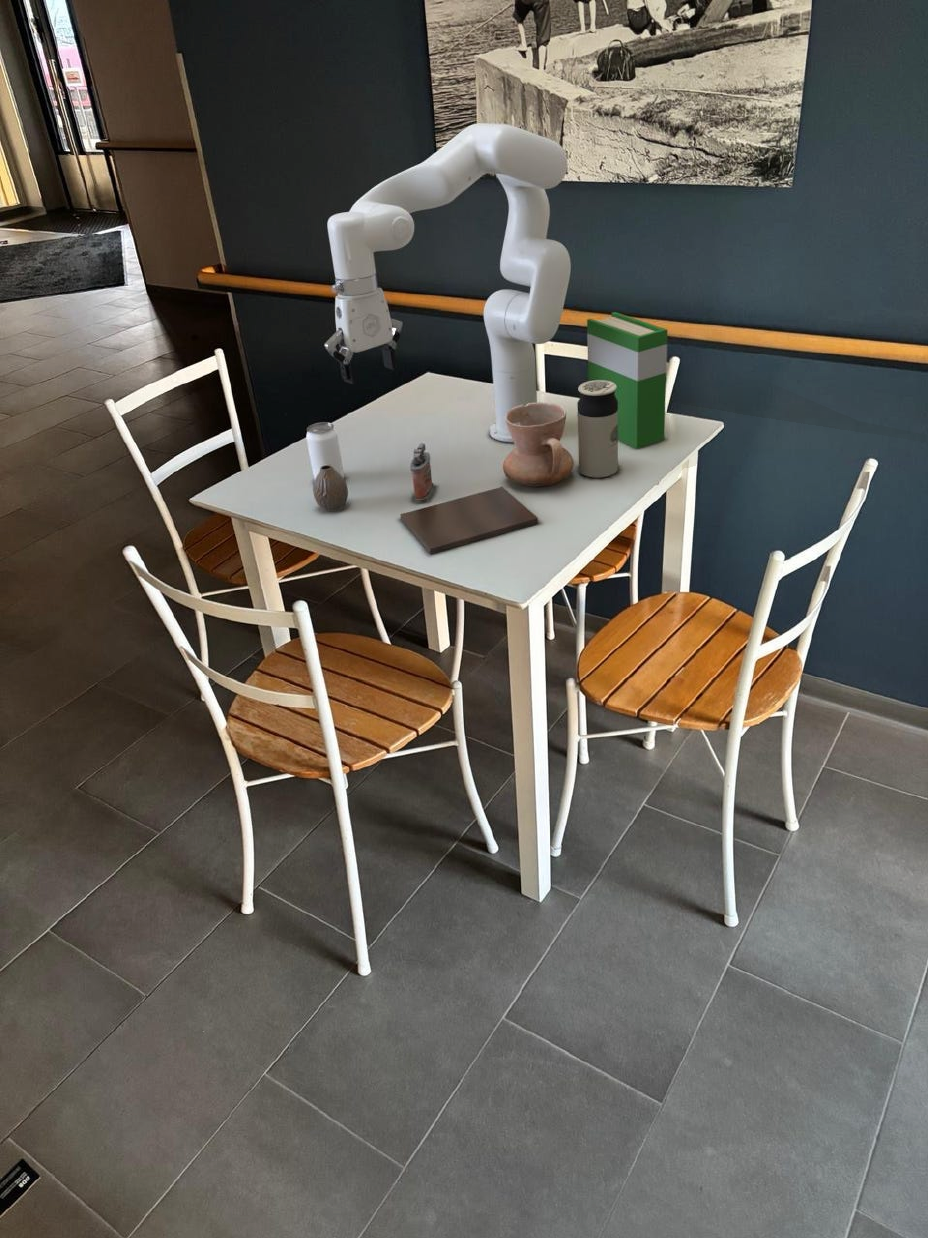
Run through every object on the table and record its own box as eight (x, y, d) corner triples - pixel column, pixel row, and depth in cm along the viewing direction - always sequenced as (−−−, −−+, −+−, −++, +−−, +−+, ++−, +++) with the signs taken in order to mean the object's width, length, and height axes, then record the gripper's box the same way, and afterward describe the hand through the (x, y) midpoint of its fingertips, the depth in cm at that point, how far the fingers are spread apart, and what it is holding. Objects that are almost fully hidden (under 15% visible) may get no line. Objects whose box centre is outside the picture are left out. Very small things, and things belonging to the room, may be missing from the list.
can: (315, 475, 205) (305, 423, 199) (345, 471, 206) (336, 419, 199) (314, 488, 200) (303, 435, 193) (344, 484, 200) (335, 431, 194)
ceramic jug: (491, 471, 199) (486, 407, 191) (553, 455, 203) (550, 392, 195) (525, 504, 185) (521, 437, 177) (591, 487, 189) (590, 420, 181)
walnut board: (502, 491, 191) (502, 486, 190) (538, 523, 178) (538, 517, 177) (400, 519, 184) (400, 514, 184) (430, 554, 172) (429, 548, 171)
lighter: (427, 503, 189) (422, 457, 184) (411, 502, 190) (405, 457, 184) (436, 485, 196) (431, 440, 190) (420, 485, 196) (415, 440, 191)
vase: (336, 517, 188) (328, 476, 183) (309, 510, 191) (301, 471, 186) (357, 502, 192) (350, 462, 188) (330, 496, 196) (323, 457, 191)
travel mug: (571, 473, 195) (568, 389, 185) (594, 459, 200) (593, 376, 190) (602, 482, 190) (602, 396, 180) (625, 467, 195) (625, 383, 185)
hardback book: (588, 424, 215) (587, 319, 202) (615, 416, 218) (615, 311, 205) (636, 448, 202) (638, 337, 189) (664, 439, 205) (667, 329, 192)
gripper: (328, 299, 167) (344, 392, 176) (406, 277, 176) (417, 366, 185) (306, 293, 172) (322, 383, 181) (383, 271, 181) (394, 359, 190)
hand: (370, 375), depth 183 cm, fingers open, 9 cm apart
